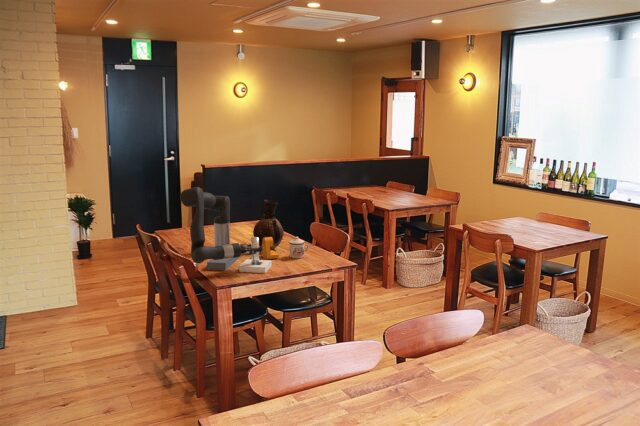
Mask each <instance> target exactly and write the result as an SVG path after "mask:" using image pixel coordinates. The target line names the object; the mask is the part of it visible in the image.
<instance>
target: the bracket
mask: <svg viewBox="0 0 640 426" xmlns="http://www.w3.org/2000/svg"><path fill="white" fill-rule="evenodd" d="M270 246H273V238H272V237H266V238H263V242H262V248H263V251H261V252H260V254H261V256H262V257H263V258H264V260H271V259H279V258H280V255H279V253H278V252H276V251H275V250H274V249H270Z"/></svg>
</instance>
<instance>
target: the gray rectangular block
mask: <svg viewBox="0 0 640 426" xmlns="http://www.w3.org/2000/svg"><path fill="white" fill-rule="evenodd" d="M239 259H240V257H237V258H230V259H219V260H213V259H208V260H207V263H206V264H207V265H206V267H207V270H211V271H212V270H213V271H226V270H228V269H229V267H231V266H232V265H233V264H235V262H237V261H238V260H239Z"/></svg>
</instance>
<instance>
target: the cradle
mask: <svg viewBox="0 0 640 426" xmlns="http://www.w3.org/2000/svg"><path fill="white" fill-rule="evenodd" d="M272 262H273V261H272V260H271V259H259V265H252V258H250V259H249V258H247V259H245V261H243V262H242V263H241V264H240V265H239V268H238V269H239V272H240V273H256V274H257V273H259V274H266V273H267V272H268V270H270V268H271V267H272V266H273V265H272V264H273V263H272Z"/></svg>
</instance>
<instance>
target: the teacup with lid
mask: <svg viewBox="0 0 640 426" xmlns="http://www.w3.org/2000/svg"><path fill="white" fill-rule="evenodd" d="M288 244H289V248H288V249H289V254H288V257H289V258H291V257H292V258H291V259H301V258H300V257H303V258H305V253H306V252H308V250H309V249H310V248H309V247H310V246H309V244H308V243H305V240H303V239H300V238H299V236H296V237H295V238H293V239H291V240H289V241H288ZM305 246H306V249H305Z"/></svg>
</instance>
